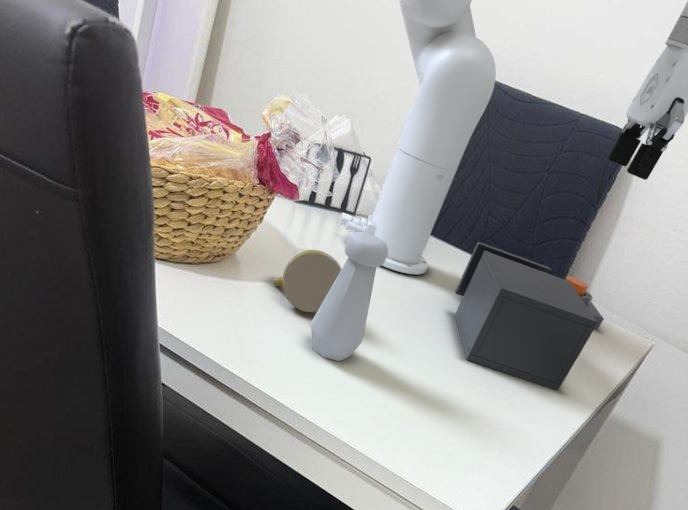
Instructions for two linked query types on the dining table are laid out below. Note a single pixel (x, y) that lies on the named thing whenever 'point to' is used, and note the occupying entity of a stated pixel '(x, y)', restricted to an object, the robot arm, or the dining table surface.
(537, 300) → the box
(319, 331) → the salt shaker
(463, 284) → the fryer drawer
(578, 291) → the button
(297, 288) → the mug
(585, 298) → the panel
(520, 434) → the dining table surface
